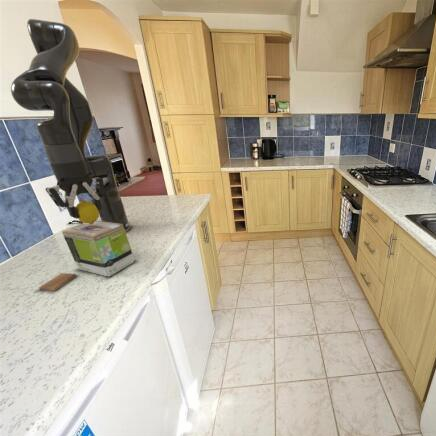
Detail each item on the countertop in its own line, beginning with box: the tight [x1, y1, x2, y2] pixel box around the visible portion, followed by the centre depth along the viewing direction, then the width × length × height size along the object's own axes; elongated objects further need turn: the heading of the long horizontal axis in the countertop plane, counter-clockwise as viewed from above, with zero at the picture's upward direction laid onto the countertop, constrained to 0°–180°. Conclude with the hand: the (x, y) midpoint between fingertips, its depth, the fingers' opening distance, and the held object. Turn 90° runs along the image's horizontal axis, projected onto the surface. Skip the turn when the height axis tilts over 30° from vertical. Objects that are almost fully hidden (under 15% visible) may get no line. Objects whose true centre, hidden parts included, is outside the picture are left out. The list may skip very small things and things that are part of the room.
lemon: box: [75, 200, 100, 224], centre depth 76 cm, size 6×6×8 cm
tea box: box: [61, 219, 135, 278], centre depth 81 cm, size 15×10×15 cm, turn 71°
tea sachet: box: [38, 273, 77, 292], centre depth 75 cm, size 5×7×1 cm
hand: (87, 214), depth 76 cm, fingers closed on lemon, 5 cm apart
